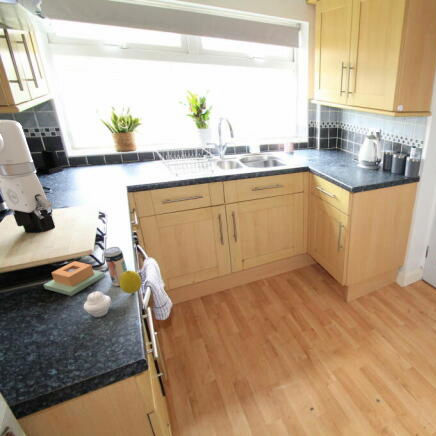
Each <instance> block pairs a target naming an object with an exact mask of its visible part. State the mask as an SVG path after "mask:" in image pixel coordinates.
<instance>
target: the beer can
mask: <svg viewBox="0 0 436 436" xmlns="http://www.w3.org/2000/svg"><path fill="white" fill-rule="evenodd" d="M103 257H104V260H105V264H106V266H107V271H108V273H109V276H110V281H111V283H112V284H111V285H113V286H115V287H120V277H121V275H122V274H123V273H124V272H126V271H128V269H127V264H126V261H125V257H124V253H123V250H122V249H121V248H120V247H119V246H111V247H108V248H106V249H105V250H104V252H103Z"/></svg>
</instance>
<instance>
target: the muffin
mask: <svg viewBox="0 0 436 436" xmlns="http://www.w3.org/2000/svg"><path fill="white" fill-rule="evenodd" d="M111 302H112V299H111V297H110V295H106V294H104V292H102V291H93V292H90V293H89V294H88V295H87V297H86V300H85V303H84V304H83V310H84V311H86V313H88V314H89V315H91V316H93V317H95V318H100V317H103V316H105V315H106V314H108V312H109V310H110V306H111Z"/></svg>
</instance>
